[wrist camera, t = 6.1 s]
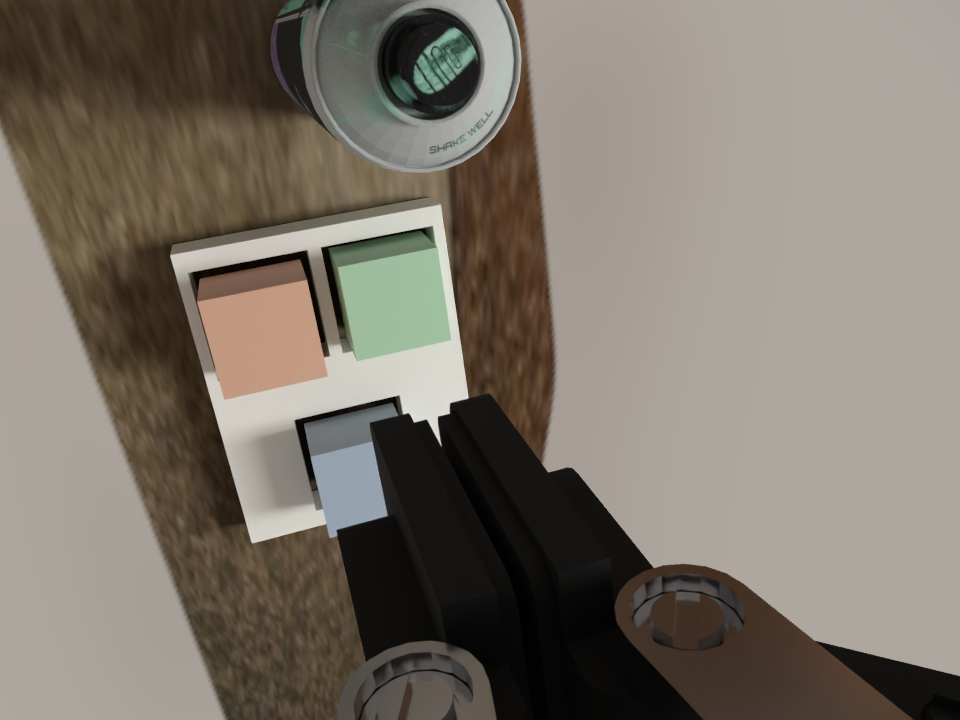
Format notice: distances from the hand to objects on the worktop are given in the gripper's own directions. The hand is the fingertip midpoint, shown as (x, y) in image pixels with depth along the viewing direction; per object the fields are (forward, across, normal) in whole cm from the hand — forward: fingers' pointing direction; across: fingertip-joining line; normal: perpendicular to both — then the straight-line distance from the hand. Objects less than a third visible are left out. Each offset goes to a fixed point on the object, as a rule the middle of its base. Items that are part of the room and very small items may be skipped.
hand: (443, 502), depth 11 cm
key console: (+29, 0, +10) cm, 30 cm away
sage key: (+28, -3, +6) cm, 29 cm away
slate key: (+27, 0, +14) cm, 30 cm away
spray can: (+29, -3, -5) cm, 30 cm away
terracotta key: (+27, +3, +6) cm, 28 cm away
